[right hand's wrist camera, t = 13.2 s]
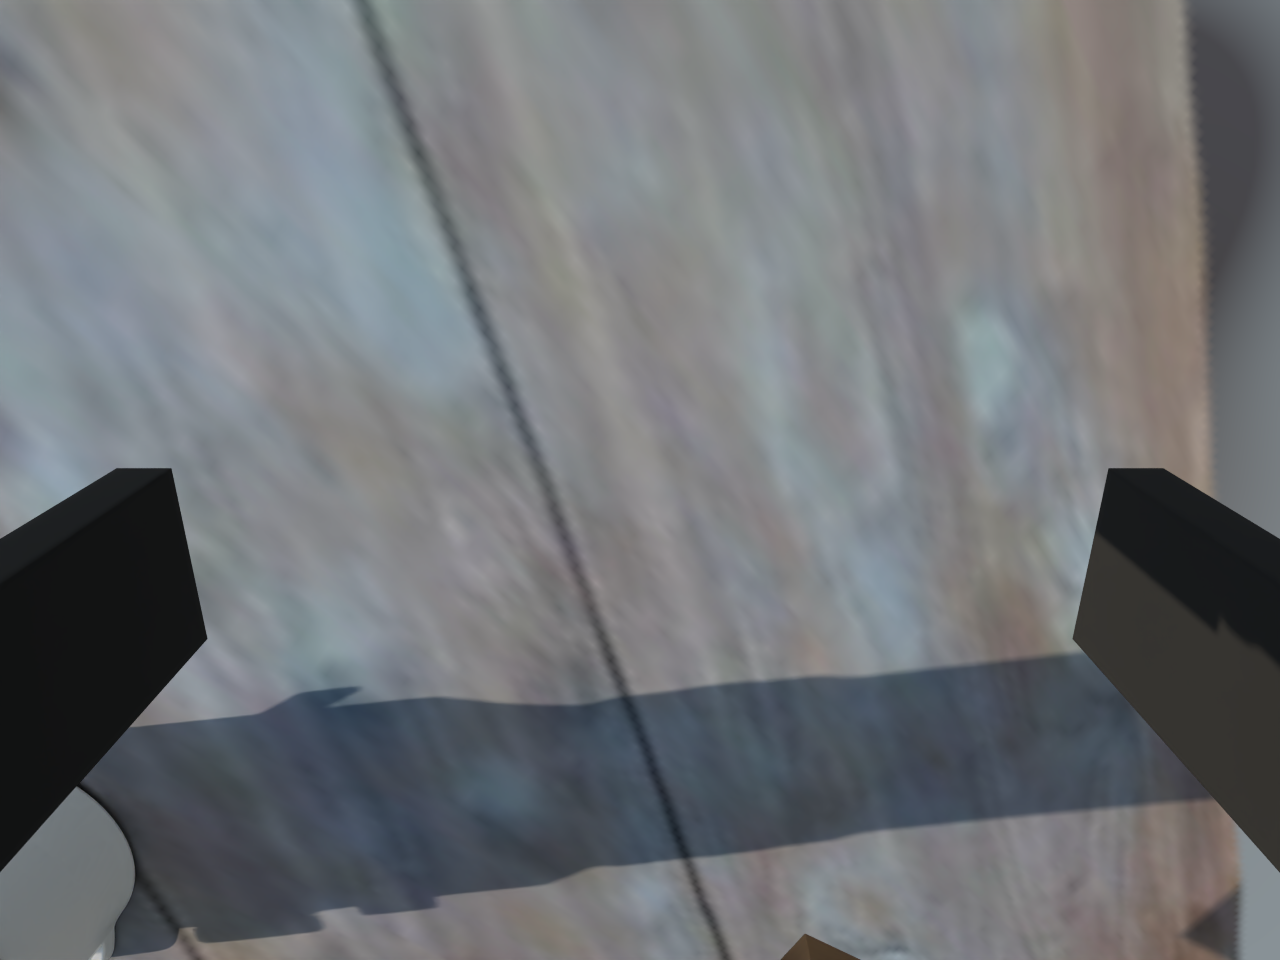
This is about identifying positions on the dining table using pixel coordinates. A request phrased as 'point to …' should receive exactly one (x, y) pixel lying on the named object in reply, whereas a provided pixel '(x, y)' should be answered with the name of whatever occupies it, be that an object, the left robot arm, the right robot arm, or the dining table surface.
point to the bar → (815, 951)
